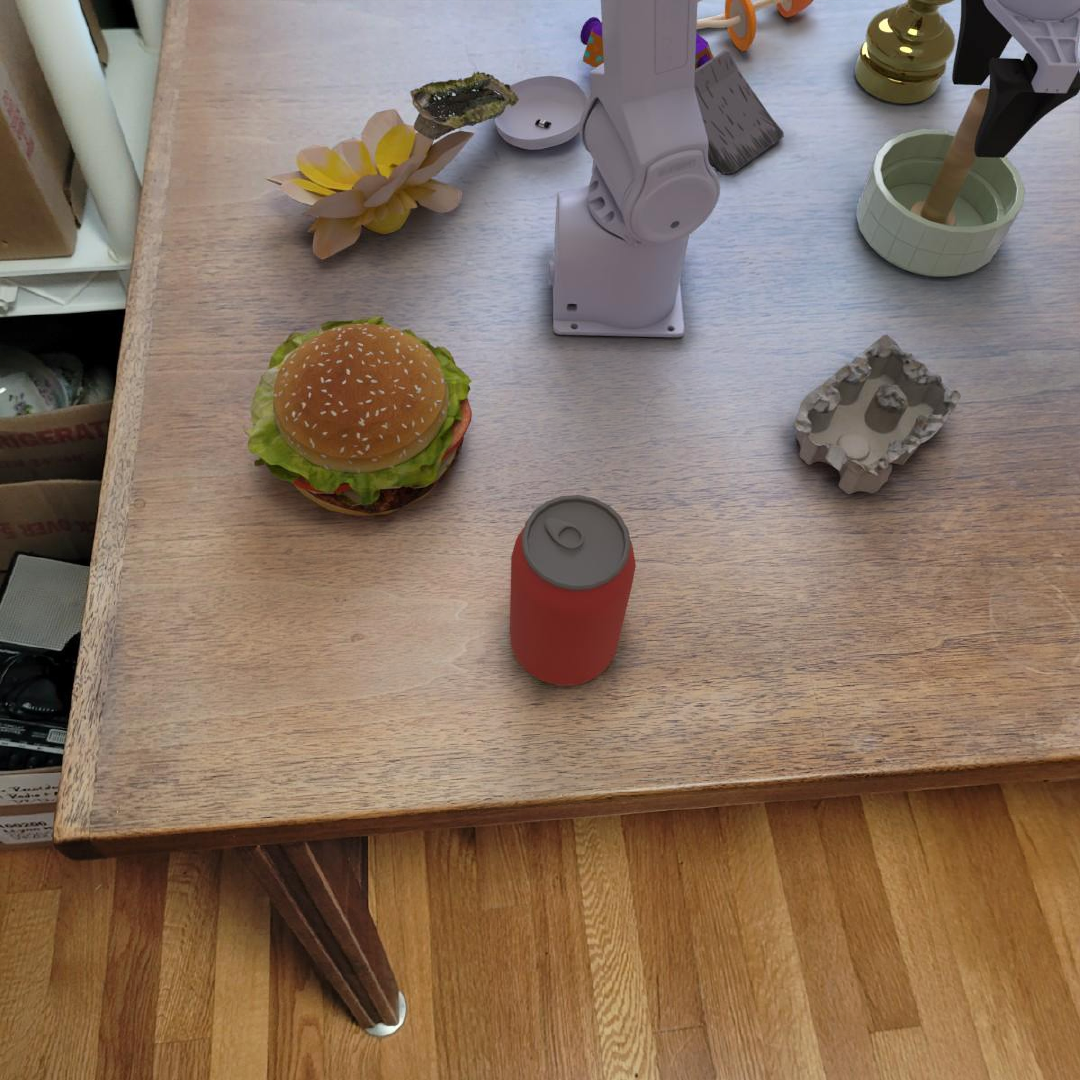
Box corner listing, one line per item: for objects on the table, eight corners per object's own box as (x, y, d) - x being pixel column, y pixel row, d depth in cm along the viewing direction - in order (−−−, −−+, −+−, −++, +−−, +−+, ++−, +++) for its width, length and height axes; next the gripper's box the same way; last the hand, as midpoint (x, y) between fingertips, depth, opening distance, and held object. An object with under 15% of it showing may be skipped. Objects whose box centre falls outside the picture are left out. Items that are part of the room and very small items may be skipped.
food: (331, 336, 75) (314, 253, 68) (503, 412, 72) (504, 334, 65) (215, 476, 68) (183, 400, 61) (399, 566, 65) (387, 497, 59)
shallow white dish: (526, 86, 90) (523, 66, 88) (607, 109, 87) (606, 89, 85) (476, 144, 86) (472, 124, 85) (559, 169, 84) (556, 150, 82)
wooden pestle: (911, 239, 81) (968, 113, 71) (902, 206, 83) (957, 79, 73) (956, 240, 81) (1020, 115, 71) (947, 207, 83) (1008, 81, 73)
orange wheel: (683, 20, 87) (857, -15, 87) (658, -50, 89) (827, -83, 90) (675, 86, 93) (836, 53, 94) (652, 20, 96) (809, -11, 97)
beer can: (555, 571, 66) (566, 464, 55) (639, 633, 64) (666, 533, 53) (487, 644, 63) (484, 545, 53) (572, 711, 61) (587, 622, 51)
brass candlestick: (838, 60, 93) (873, -52, 84) (913, 47, 94) (955, -64, 85) (876, 112, 89) (916, 2, 81) (952, 98, 91) (1000, -13, 82)
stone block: (546, 104, 83) (497, 114, 86) (533, 47, 81) (483, 58, 84) (447, 151, 74) (395, 160, 77) (429, 87, 72) (376, 99, 75)
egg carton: (859, 511, 69) (878, 477, 65) (773, 440, 71) (788, 404, 68) (956, 425, 73) (979, 389, 69) (871, 361, 75) (889, 323, 72)
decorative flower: (430, 108, 84) (429, 15, 75) (496, 219, 82) (502, 137, 72) (258, 176, 81) (233, 88, 72) (321, 293, 79) (304, 217, 69)
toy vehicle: (722, 181, 84) (741, 5, 71) (548, 70, 93) (537, -105, 80) (794, 130, 87) (824, -49, 74) (617, 26, 96) (617, -150, 83)
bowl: (866, 279, 79) (887, 230, 75) (844, 178, 85) (863, 126, 81) (1011, 283, 80) (1040, 234, 75) (980, 182, 85) (1005, 131, 81)
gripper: (1172, -4, 58) (1059, 190, 70) (1102, -143, 65) (1010, 54, 77) (1048, -8, 58) (955, 187, 70) (991, -147, 65) (916, 50, 77)
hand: (977, 117), depth 73 cm, fingers open, 7 cm apart
